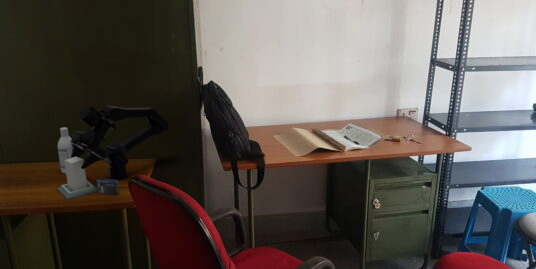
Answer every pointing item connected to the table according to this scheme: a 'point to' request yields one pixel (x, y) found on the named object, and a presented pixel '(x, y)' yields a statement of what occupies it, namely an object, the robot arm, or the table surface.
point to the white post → (75, 174)
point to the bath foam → (64, 148)
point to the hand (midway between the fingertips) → (76, 165)
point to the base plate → (74, 194)
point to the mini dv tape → (107, 186)
